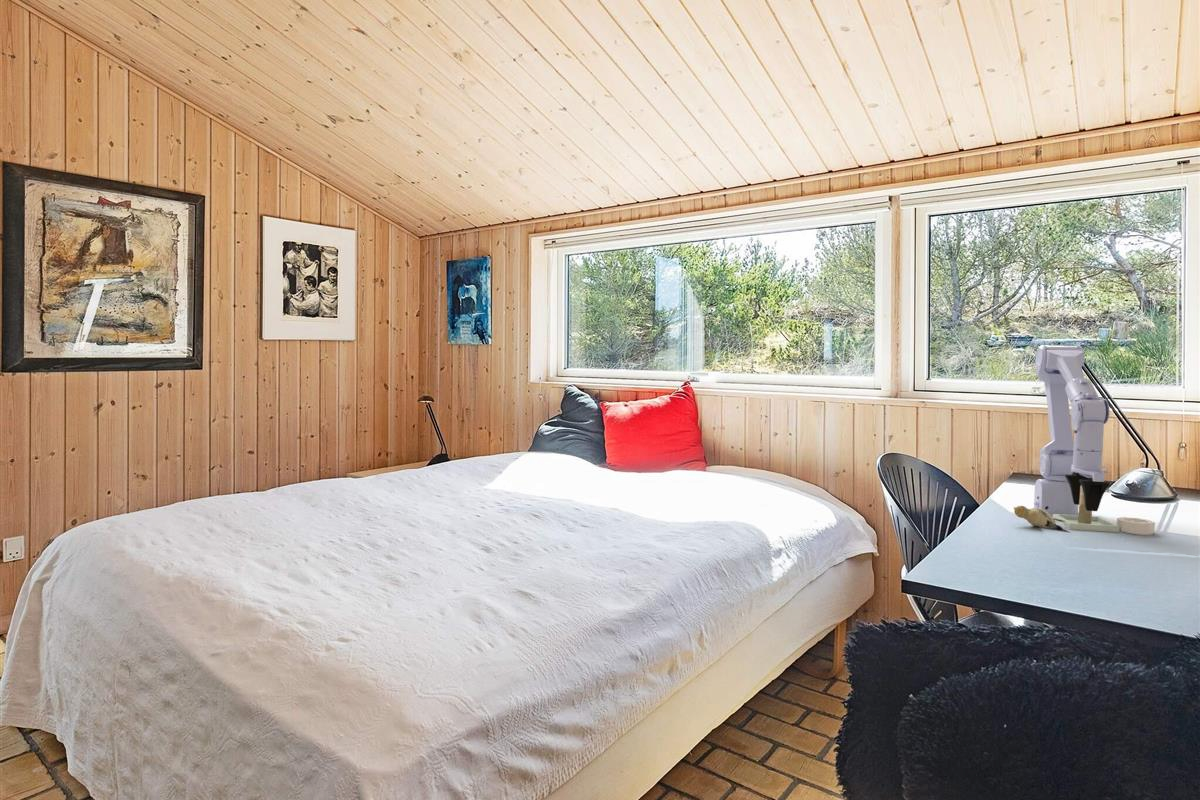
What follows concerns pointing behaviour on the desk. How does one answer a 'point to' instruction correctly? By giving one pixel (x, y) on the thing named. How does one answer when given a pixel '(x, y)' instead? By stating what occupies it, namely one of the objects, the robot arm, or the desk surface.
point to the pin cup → (1136, 525)
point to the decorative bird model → (1038, 518)
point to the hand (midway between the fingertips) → (1085, 507)
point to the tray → (1096, 524)
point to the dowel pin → (1083, 510)
